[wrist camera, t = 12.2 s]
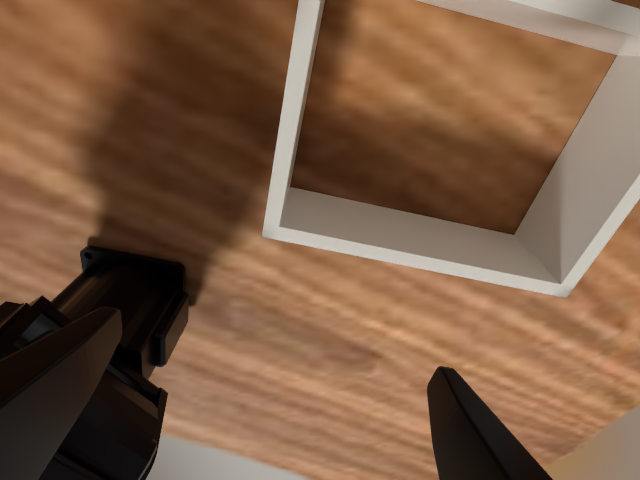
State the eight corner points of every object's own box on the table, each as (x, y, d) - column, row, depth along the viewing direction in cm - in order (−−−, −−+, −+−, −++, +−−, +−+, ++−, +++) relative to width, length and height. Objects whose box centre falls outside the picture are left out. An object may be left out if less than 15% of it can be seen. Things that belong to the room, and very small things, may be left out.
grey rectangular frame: (276, 195, 20) (261, 236, 16) (317, -48, 15) (312, -86, 10) (518, 246, 22) (566, 298, 17) (640, 42, 16) (755, 41, 12)
